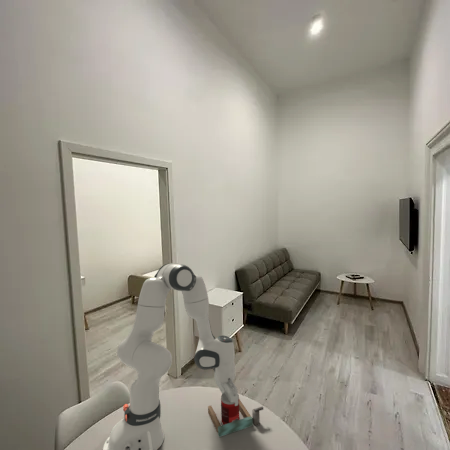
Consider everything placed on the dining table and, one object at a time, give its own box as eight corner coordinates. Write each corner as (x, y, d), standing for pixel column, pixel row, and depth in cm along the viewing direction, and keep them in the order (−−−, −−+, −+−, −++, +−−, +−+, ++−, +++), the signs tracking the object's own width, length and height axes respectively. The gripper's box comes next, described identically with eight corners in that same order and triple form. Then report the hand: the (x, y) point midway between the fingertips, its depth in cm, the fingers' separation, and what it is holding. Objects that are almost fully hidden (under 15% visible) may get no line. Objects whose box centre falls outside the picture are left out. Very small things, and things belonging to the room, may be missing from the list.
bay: (219, 438, 102) (219, 423, 102) (208, 412, 116) (207, 399, 116) (265, 423, 109) (264, 409, 109) (248, 400, 124) (248, 388, 124)
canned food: (241, 416, 113) (240, 391, 113) (237, 430, 106) (236, 404, 105) (224, 413, 115) (223, 389, 115) (219, 427, 108) (218, 401, 107)
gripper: (241, 384, 108) (242, 417, 108) (223, 361, 127) (224, 389, 127) (227, 388, 106) (228, 422, 105) (211, 364, 125) (212, 392, 124)
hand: (226, 403), depth 116 cm, fingers closed
